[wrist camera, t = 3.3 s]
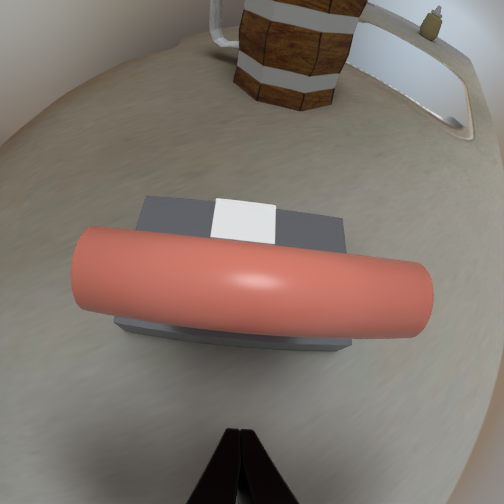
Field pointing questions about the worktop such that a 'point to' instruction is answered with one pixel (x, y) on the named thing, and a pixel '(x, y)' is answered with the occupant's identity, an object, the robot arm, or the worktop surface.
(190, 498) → the robot arm
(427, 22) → the squeeze bottle
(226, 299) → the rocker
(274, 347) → the grey holder stand
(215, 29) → the mug
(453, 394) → the worktop surface
